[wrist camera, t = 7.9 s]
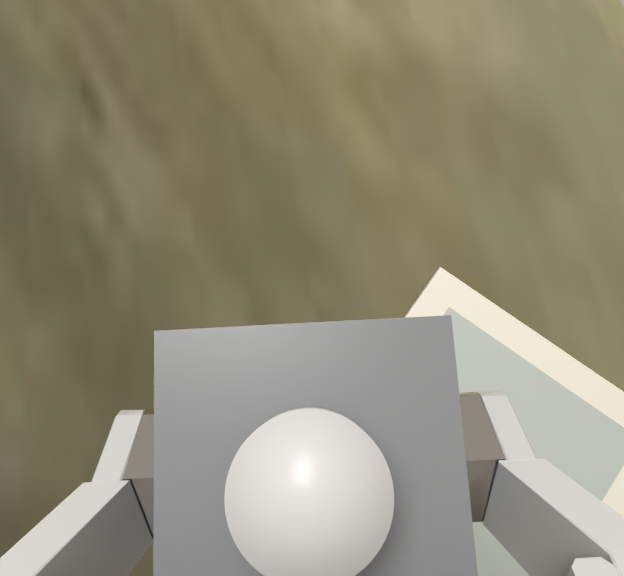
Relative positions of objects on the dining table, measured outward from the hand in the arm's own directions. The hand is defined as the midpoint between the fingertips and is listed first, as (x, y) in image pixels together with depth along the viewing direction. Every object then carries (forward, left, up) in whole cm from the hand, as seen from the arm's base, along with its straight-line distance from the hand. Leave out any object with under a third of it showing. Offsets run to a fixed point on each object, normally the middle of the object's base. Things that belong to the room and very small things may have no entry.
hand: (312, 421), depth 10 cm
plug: (-1, 0, -5) cm, 5 cm away
